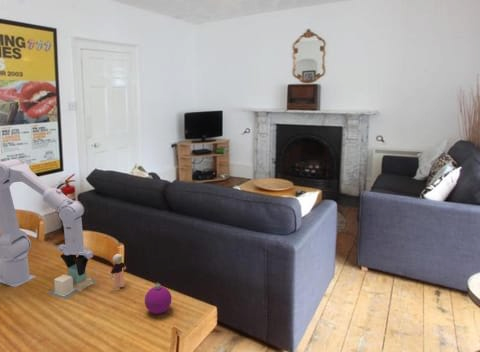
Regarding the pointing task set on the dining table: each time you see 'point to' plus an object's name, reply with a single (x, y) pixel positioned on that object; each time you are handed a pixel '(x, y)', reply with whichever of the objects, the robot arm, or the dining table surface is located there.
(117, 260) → the grandmother figurine
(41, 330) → the dining table surface
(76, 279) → the teal block
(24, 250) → the robot arm
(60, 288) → the cream block
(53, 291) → the slate mat
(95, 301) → the dining table surface
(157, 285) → the christmas ornament
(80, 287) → the beech brick
